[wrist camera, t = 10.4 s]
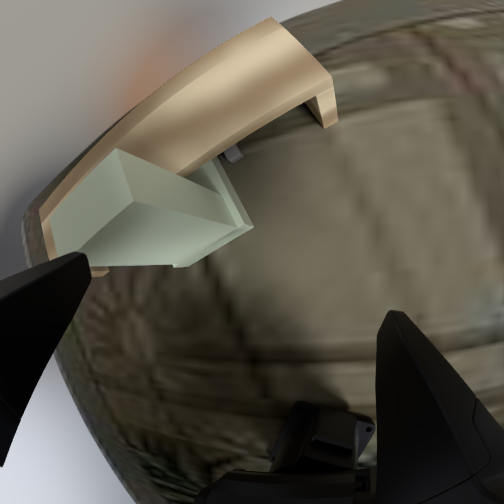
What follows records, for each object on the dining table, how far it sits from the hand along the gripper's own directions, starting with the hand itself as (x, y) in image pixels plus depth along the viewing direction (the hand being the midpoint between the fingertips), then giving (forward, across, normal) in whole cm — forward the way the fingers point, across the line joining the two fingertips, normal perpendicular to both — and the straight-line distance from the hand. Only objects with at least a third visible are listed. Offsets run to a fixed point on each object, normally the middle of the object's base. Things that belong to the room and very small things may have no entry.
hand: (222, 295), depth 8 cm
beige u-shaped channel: (+15, +8, +2) cm, 17 cm away
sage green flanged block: (+14, +6, +4) cm, 16 cm away
